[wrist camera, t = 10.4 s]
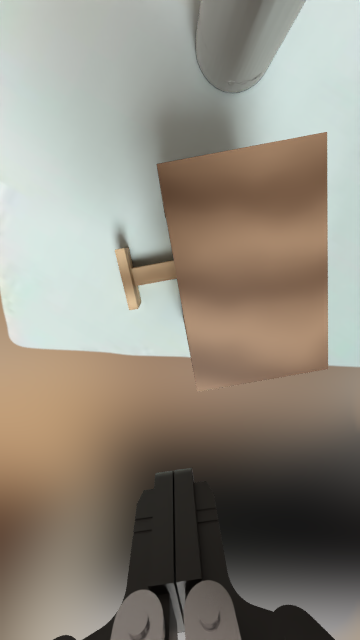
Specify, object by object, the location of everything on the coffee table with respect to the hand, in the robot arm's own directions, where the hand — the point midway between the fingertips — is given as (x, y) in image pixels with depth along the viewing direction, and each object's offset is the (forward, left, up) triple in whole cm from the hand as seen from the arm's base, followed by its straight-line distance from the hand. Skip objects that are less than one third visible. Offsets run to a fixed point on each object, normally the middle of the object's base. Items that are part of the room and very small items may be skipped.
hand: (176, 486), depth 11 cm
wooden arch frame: (-6, +7, -29) cm, 31 cm away
